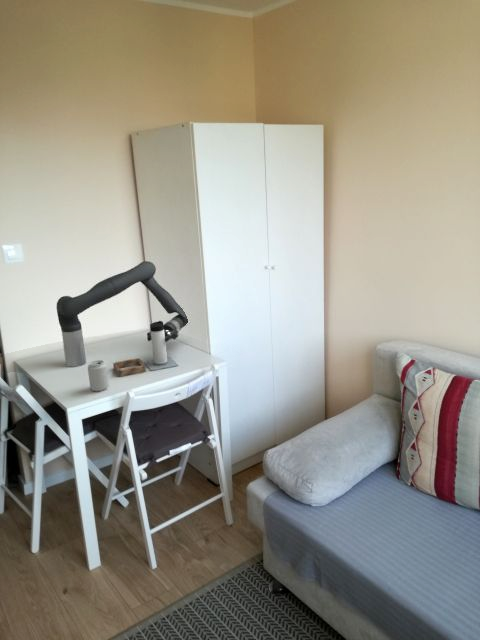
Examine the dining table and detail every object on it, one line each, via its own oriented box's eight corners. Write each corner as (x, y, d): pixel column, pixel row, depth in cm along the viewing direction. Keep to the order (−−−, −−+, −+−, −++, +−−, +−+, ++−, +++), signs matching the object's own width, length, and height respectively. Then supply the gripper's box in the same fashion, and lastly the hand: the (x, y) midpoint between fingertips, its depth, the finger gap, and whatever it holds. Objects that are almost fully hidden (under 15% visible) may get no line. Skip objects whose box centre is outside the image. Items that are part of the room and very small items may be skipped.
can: (110, 390, 214) (106, 363, 211) (91, 393, 212) (87, 366, 209) (107, 384, 221) (104, 358, 218) (89, 387, 219) (86, 360, 215)
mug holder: (118, 377, 228) (118, 371, 227) (113, 368, 239) (112, 362, 238) (146, 372, 233) (145, 365, 232) (139, 363, 244) (139, 357, 243)
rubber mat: (151, 371, 233) (151, 370, 233) (144, 362, 245) (144, 361, 245) (178, 366, 238) (178, 365, 238) (170, 357, 250) (170, 356, 250)
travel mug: (170, 361, 243) (166, 321, 237) (161, 366, 237) (157, 325, 232) (160, 359, 246) (156, 320, 240) (151, 364, 241) (146, 324, 235)
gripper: (155, 321, 252) (142, 331, 237) (183, 322, 249) (170, 332, 234) (157, 336, 254) (143, 346, 239) (184, 337, 251) (172, 347, 236)
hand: (157, 339), depth 236 cm, fingers open, 8 cm apart
